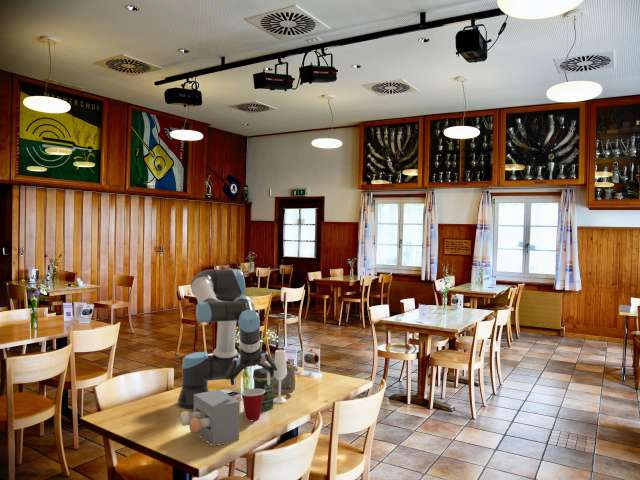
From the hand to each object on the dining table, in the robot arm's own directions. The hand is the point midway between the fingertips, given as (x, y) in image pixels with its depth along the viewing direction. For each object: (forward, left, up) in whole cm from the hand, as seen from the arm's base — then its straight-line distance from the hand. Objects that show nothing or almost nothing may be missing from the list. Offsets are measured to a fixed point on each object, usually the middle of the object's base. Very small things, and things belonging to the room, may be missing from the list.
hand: (252, 386), depth 201 cm
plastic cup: (-16, +2, -19) cm, 25 cm away
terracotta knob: (+7, -18, -14) cm, 24 cm away
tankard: (-50, +22, -19) cm, 58 cm away
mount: (0, -14, -19) cm, 24 cm away
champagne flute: (-37, +17, -19) cm, 45 cm away
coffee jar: (-28, +8, -19) cm, 35 cm away
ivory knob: (-1, -22, -14) cm, 26 cm away
